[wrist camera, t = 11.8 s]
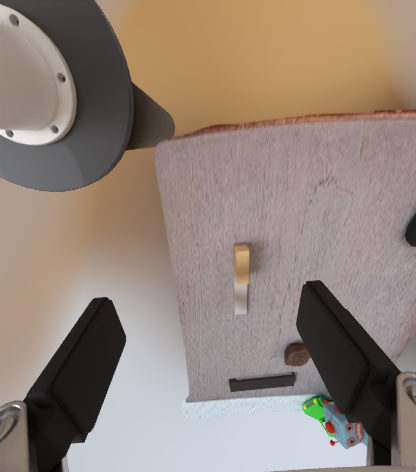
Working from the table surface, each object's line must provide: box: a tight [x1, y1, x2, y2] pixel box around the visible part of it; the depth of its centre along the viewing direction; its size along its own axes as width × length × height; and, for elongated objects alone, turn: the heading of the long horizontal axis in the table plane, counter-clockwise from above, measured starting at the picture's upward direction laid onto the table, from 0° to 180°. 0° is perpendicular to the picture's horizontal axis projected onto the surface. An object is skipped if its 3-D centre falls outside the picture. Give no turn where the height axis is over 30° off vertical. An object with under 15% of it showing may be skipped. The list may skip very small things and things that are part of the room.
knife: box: [234, 243, 249, 315], centre depth 37 cm, size 17×3×3 cm, turn 4°
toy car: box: [302, 396, 334, 437], centre depth 57 cm, size 11×7×7 cm, turn 59°
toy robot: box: [323, 400, 368, 449], centre depth 52 cm, size 13×11×30 cm
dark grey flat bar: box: [229, 372, 295, 392], centre depth 54 cm, size 18×1×5 cm
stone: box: [284, 344, 311, 366], centre depth 47 cm, size 7×7×3 cm
